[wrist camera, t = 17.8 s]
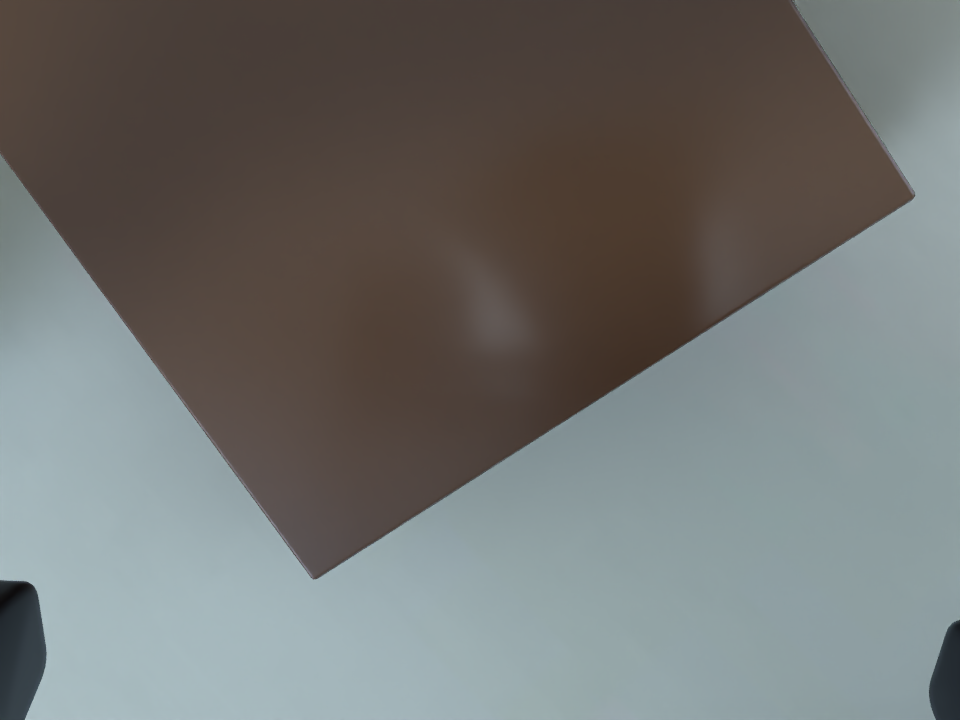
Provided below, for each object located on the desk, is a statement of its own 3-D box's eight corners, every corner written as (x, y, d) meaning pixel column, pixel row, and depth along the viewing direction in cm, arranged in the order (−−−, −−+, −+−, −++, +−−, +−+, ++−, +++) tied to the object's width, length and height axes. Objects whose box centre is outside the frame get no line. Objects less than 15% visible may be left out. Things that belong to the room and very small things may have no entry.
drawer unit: (831, 197, 18) (919, 196, 13) (381, 491, 20) (312, 582, 15) (476, -350, 17) (426, -576, 12) (51, 31, 19) (-133, -25, 14)
